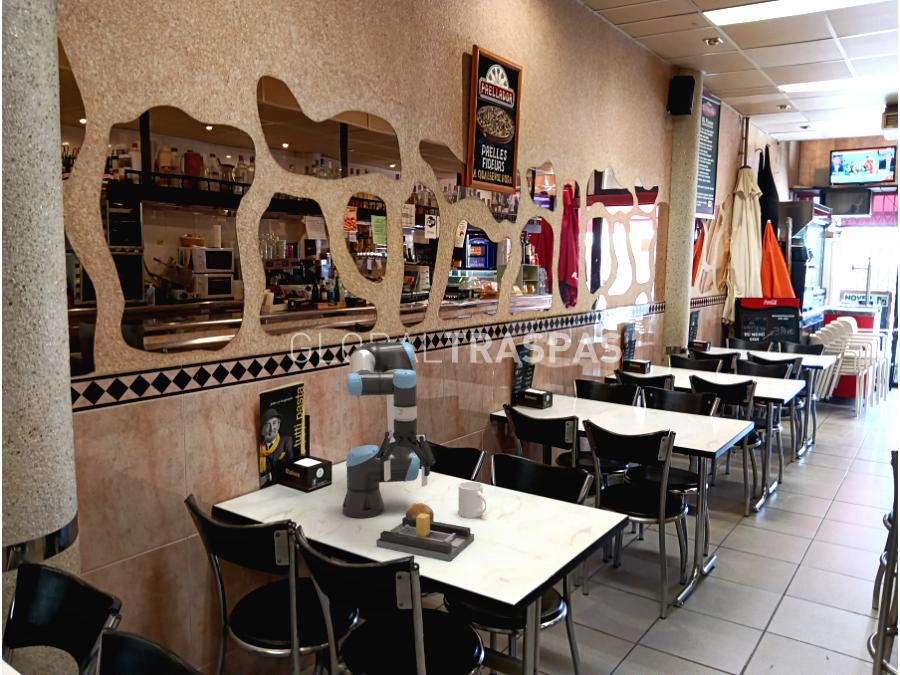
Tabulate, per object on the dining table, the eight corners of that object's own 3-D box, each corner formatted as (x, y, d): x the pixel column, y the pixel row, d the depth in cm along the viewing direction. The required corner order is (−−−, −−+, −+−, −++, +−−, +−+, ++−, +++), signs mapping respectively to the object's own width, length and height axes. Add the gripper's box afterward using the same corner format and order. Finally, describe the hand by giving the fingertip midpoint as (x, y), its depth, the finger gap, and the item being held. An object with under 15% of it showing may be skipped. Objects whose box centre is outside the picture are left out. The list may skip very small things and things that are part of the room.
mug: (476, 523, 242) (476, 493, 241) (453, 514, 251) (453, 485, 249) (494, 517, 247) (494, 487, 246) (470, 508, 256) (471, 479, 255)
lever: (415, 537, 224) (415, 517, 223) (422, 533, 228) (422, 512, 227) (424, 539, 222) (423, 518, 222) (430, 534, 226) (430, 514, 226)
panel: (376, 546, 222) (376, 533, 222) (404, 526, 238) (404, 515, 238) (450, 561, 211) (450, 548, 211) (474, 539, 227) (474, 527, 227)
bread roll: (436, 529, 246) (439, 506, 248) (426, 527, 236) (429, 503, 239) (409, 526, 249) (413, 503, 251) (399, 523, 240) (403, 499, 242)
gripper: (365, 417, 226) (366, 481, 228) (435, 424, 216) (435, 491, 218) (377, 412, 233) (378, 474, 235) (445, 419, 222) (445, 484, 225)
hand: (405, 482), depth 227 cm, fingers open, 13 cm apart
